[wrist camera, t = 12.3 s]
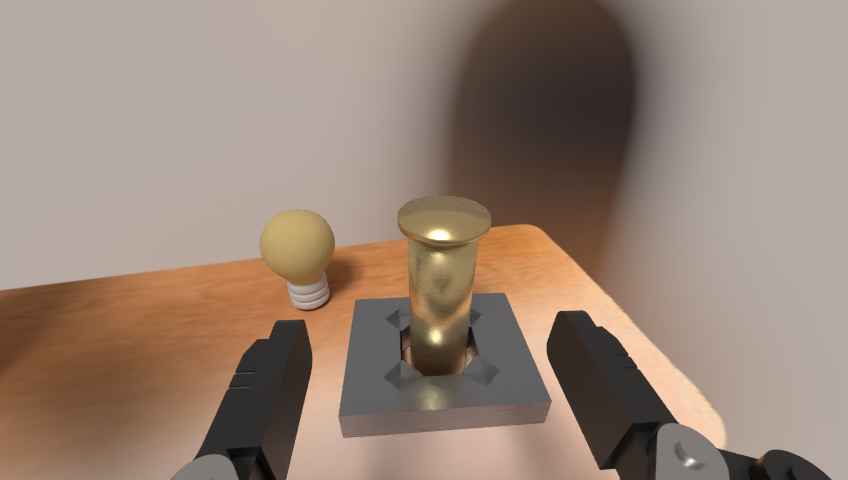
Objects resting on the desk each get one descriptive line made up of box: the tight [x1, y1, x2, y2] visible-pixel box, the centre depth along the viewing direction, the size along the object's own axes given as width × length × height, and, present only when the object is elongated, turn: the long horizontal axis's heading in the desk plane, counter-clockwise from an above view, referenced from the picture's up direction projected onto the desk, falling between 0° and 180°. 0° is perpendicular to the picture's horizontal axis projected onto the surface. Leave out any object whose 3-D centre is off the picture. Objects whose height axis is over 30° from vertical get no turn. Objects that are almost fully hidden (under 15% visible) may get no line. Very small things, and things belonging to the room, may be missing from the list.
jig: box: [339, 293, 552, 438], centre depth 27 cm, size 14×11×2 cm
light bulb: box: [260, 209, 335, 310], centre depth 31 cm, size 6×6×10 cm
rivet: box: [398, 195, 491, 377], centre depth 24 cm, size 6×6×14 cm
